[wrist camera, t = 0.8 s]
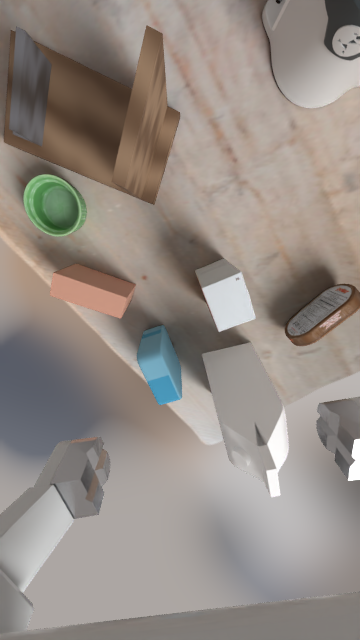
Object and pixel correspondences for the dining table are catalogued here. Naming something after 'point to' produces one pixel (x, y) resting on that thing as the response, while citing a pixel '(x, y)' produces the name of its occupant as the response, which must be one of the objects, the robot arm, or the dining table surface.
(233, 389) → the milk
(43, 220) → the ramekin
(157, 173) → the shelf stand
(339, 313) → the tin
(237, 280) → the small box
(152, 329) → the data package
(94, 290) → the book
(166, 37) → the dining table surface
